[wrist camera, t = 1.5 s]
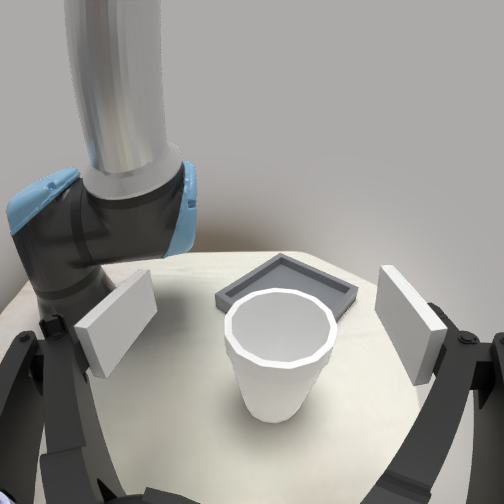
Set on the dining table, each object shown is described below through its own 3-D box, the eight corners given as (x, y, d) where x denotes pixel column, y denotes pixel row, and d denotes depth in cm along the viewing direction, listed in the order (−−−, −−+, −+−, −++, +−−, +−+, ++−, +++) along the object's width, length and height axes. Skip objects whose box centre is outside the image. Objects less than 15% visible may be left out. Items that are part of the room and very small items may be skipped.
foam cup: (231, 370, 34) (224, 289, 27) (304, 365, 34) (320, 285, 27) (233, 438, 26) (224, 372, 19) (319, 430, 26) (350, 361, 19)
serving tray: (216, 306, 44) (214, 294, 43) (279, 264, 54) (280, 252, 53) (301, 360, 35) (303, 348, 34) (355, 299, 45) (358, 287, 44)
